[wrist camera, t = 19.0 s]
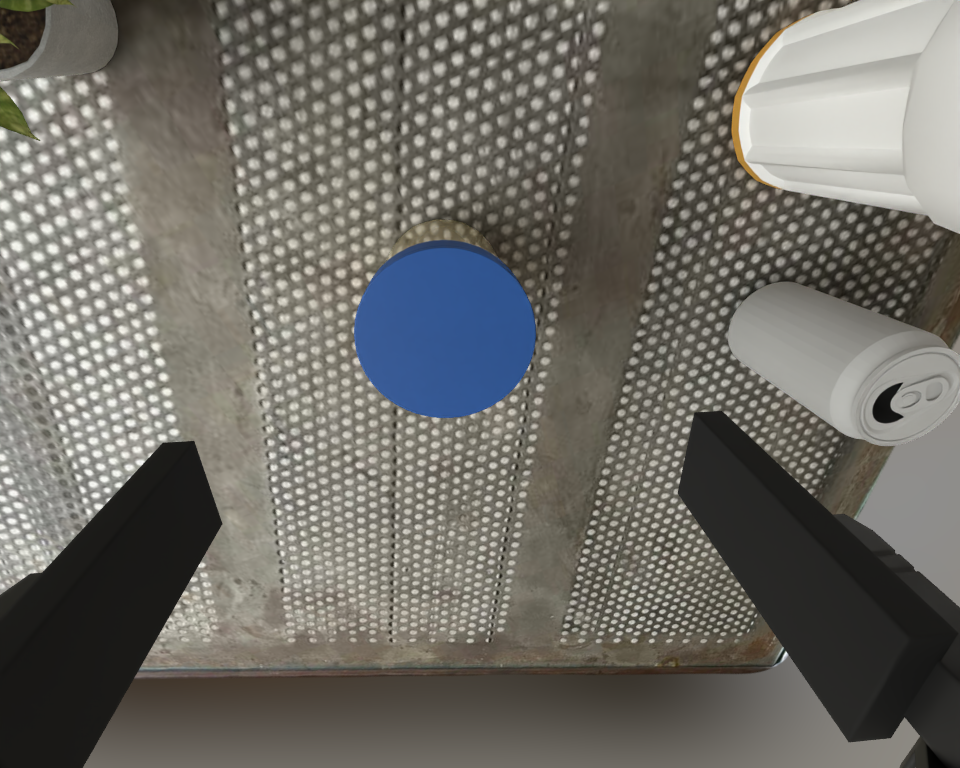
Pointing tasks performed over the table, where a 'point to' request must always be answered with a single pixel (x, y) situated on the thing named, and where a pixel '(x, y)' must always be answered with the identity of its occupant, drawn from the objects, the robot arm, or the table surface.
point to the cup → (859, 107)
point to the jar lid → (444, 329)
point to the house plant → (51, 44)
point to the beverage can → (847, 362)
